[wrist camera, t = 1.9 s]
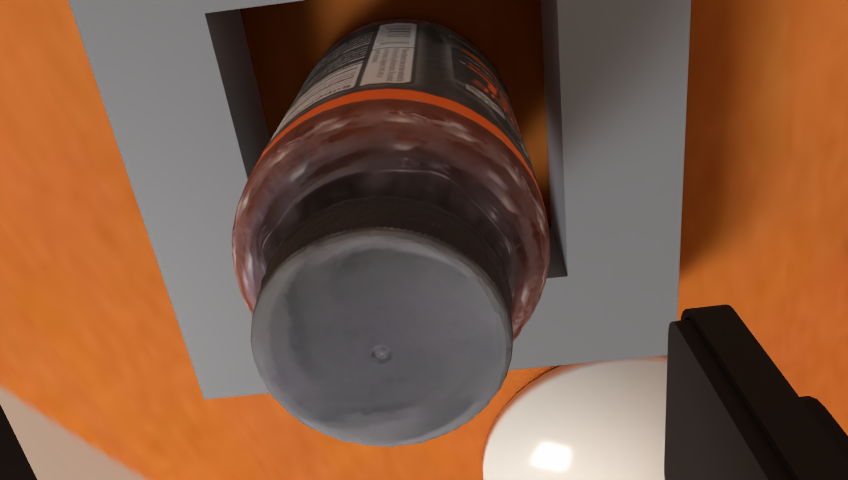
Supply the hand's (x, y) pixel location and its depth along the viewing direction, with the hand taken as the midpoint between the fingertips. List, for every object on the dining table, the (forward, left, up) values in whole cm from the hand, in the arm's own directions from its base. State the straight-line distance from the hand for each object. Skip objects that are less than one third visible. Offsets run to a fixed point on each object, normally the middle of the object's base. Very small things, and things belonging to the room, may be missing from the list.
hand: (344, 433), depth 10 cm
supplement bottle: (-1, 0, -13) cm, 13 cm away
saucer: (-7, +14, -12) cm, 19 cm away
